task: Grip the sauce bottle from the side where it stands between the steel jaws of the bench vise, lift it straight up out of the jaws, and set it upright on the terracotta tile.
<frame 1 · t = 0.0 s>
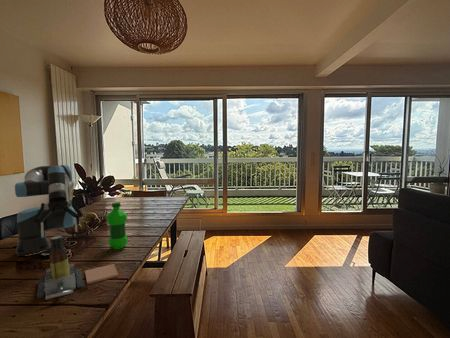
hand: (59, 233, 124), 15 cm above the table, tool tilted 35°, fingers open, 13 cm apart
sauce bottle: (61, 285, 108), resting in bench vise
bench vise: (61, 284, 108), on the table
plastic bottle: (118, 247, 146), on the table
terracotta tile: (101, 274, 115), on the table
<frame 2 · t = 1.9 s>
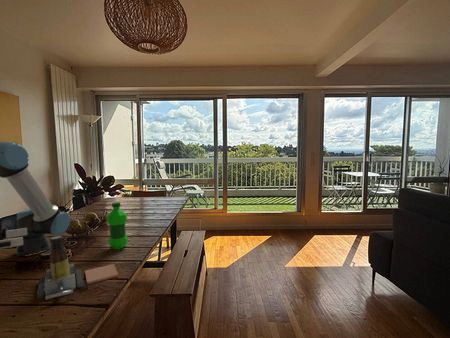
hand: (25, 235, 100), 22 cm above the table, tool horizontal, fingers open, 13 cm apart
nothing on the table moved.
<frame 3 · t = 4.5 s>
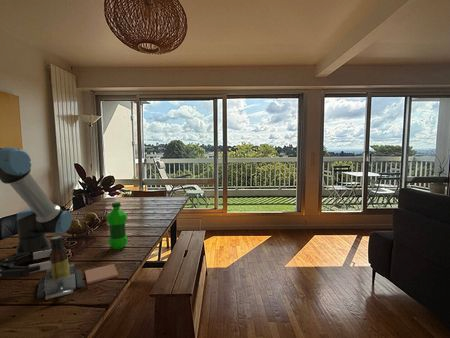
hand: (51, 258, 105), 12 cm above the table, tool horizontal, fingers open, 13 cm apart
nothing on the table moved.
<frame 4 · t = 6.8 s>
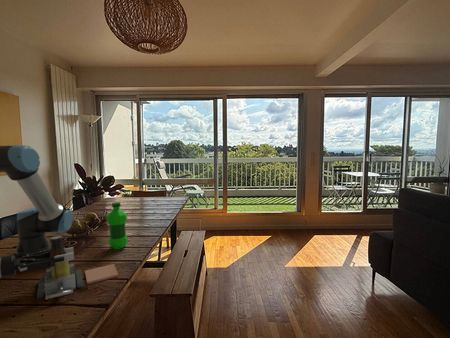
hand: (73, 253, 109), 12 cm above the table, tool horizontal, fingers closed on sauce bottle, 6 cm apart
sauce bottle: (61, 285, 108), resting in bench vise, touching gripper
everything else where it was.
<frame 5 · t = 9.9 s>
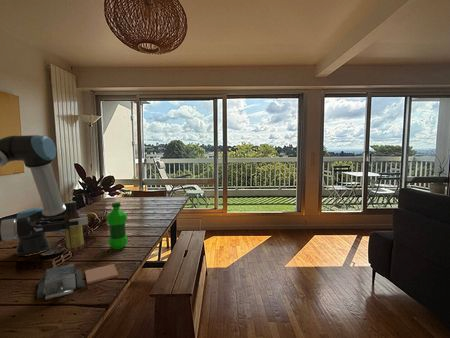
hand: (87, 218, 110), 26 cm above the table, tool horizontal, fingers closed on sauce bottle, 6 cm apart
sauce bottle: (75, 249, 108), point 14 cm above the table, touching gripper
everything else where it was.
when the fingers open (14 cm above the table, at t = 13.4 s): sauce bottle stays where it is, resting on terracotta tile.
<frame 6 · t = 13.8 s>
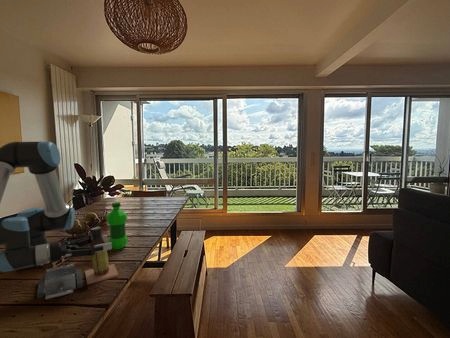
hand: (109, 241, 116), 14 cm above the table, tool horizontal, fingers open, 11 cm apart
sauce bottle: (101, 272, 115), point 1 cm above the table, touching terracotta tile
everything else where it was.
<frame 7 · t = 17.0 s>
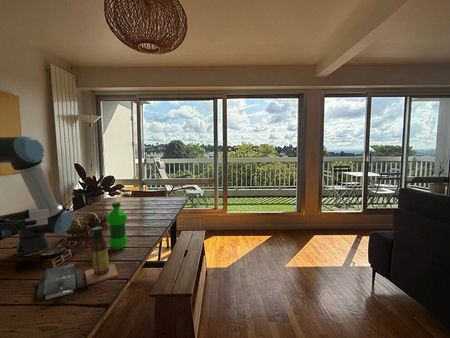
hand: (48, 215, 103), 29 cm above the table, tool horizontal, fingers open, 13 cm apart
nothing on the table moved.
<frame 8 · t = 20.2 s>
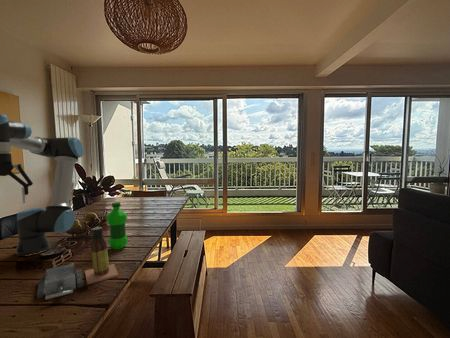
hand: (3, 204, 108), 33 cm above the table, tool pointing down, fingers open, 13 cm apart
nothing on the table moved.
at the end: sauce bottle inside the target area on the terracotta tile (0.1 cm from its centre), point 0.8 cm above the terracotta tile's base; sauce bottle tilted 0°; the gripper is holding nothing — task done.
